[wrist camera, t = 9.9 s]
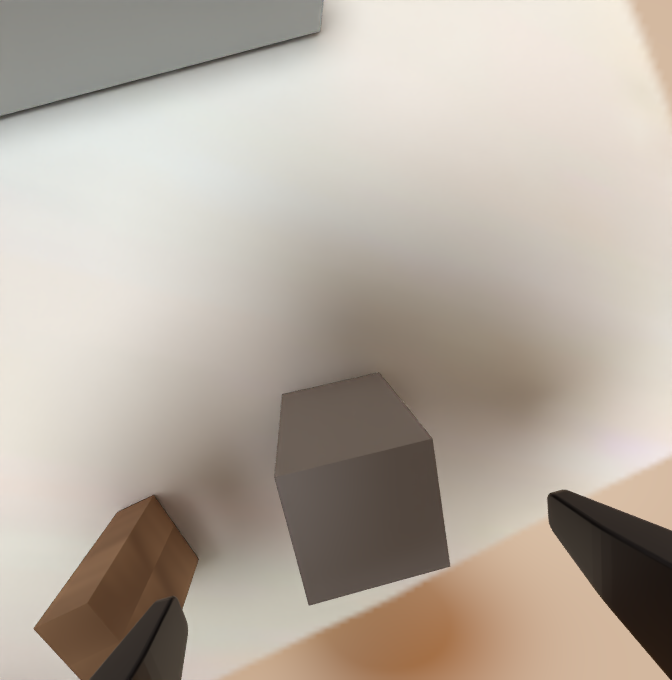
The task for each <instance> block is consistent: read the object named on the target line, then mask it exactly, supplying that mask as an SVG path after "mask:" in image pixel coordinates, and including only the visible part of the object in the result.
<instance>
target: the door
mask: <svg viewBox="0 0 672 680" xmlns="http://www.w3.org/2000/svg"><path fill="white" fill-rule="evenodd" d="M323 1H324V0H0V116H2V115H6V114H10V113H13V112H17V111H21V110H25V109H29V108H32V107H36V106H40V105H44V104H47V103H51V102H55V101H59V100H62V99H66V98H70V97H74V96H78V95H81V94H85V93H89V92H93V91H96V90H100V89H104V88H108V87H112V86H115V85H119V84H123V83H127V82H130V81H134V80H138V79H142V78H145V77H149V76H153V75H157V74H161V73H164V72H168V71H172V70H176V69H179V68H183V67H187V66H191V65H195V64H198V63H202V62H206V61H210V60H213V59H217V58H221V57H225V56H229V55H232V54H236V53H240V52H244V51H247V50H251V49H255V48H259V47H262V46H266V45H270V44H274V43H278V42H281V41H285V40H289V39H293V38H296V37H300V36H304V35H308V34H312V33H315V32H319V31H320V28H321V19H322V10H323Z"/></svg>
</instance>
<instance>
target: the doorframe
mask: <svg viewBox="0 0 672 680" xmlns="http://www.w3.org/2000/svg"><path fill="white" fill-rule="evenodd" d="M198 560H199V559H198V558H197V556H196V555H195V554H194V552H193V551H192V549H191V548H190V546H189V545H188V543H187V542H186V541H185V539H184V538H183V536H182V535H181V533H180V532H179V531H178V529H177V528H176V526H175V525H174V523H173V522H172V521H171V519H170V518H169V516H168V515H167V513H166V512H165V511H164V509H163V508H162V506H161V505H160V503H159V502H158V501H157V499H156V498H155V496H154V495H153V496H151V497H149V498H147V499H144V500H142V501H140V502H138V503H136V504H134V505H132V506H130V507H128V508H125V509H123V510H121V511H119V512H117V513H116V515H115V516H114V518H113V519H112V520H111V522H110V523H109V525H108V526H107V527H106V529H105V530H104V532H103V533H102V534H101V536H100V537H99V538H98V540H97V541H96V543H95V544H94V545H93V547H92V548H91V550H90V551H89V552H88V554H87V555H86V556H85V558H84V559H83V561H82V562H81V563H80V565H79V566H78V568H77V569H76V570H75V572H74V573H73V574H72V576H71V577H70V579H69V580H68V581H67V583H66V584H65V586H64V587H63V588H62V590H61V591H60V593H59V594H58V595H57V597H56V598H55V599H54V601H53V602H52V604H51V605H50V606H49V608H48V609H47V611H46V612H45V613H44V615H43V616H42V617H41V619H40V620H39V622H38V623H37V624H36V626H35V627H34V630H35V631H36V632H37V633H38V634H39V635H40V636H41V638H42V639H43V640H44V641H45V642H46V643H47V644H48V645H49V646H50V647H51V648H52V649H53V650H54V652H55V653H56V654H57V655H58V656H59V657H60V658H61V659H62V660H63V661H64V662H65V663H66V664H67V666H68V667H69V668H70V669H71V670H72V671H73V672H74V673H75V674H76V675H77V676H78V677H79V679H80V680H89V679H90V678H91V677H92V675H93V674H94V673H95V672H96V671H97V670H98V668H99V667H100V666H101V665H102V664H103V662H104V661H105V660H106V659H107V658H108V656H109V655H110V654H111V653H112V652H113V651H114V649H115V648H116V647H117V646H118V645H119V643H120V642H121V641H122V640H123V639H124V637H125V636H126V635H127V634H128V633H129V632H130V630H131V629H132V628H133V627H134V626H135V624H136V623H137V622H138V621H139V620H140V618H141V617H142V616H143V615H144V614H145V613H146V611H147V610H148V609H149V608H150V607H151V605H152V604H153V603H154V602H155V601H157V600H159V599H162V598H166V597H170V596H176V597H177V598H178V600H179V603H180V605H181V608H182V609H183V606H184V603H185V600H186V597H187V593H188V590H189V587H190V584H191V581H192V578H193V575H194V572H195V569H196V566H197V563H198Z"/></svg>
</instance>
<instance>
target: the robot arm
mask: <svg viewBox="0 0 672 680" xmlns="http://www.w3.org/2000/svg"><path fill="white" fill-rule="evenodd" d="M547 501H548V519H549V524H550V527H551V528H552V531H553V532H554V534H555V535H556V536H557V538H558V539H559V541H560V542H561V543H562V545H563V546H564V548H565V549H566V550H567V552H568V553H569V554H570V556H571V557H572V559H573V560H574V561H575V563H576V564H577V565H578V567H579V568H580V570H581V571H582V572H583V573H584V575H585V577H586V578H587V579H588V580H589V582H590V583H591V585H592V586H593V588H594V589H595V590H596V591H597V593H598V594H599V595H600V597H601V598H602V599H603V601H604V602H605V603H606V604H607V605H608V607H609V608H610V609H611V610H612V611H613V613H614V614H615V615H616V616H617V617H618V619H619V620H620V621H621V622H622V623H623V624H624V626H625V627H626V628H627V629H628V630H629V631H630V633H631V634H632V635H633V636H634V637H635V639H636V640H637V641H638V642H639V643H640V644H641V646H642V647H643V648H644V649H645V650H646V651H647V653H648V654H649V655H650V656H651V657H652V658H653V660H654V661H655V662H656V663H657V664H658V665H659V667H660V668H661V669H662V670H663V671H664V673H665V674H666V675H667V676H668V677H669V678H670V680H672V531H671V530H669V529H666V528H664V527H661V526H659V525H656V524H653V523H650V522H648V521H646V520H643V519H640V518H638V517H635V516H633V515H630V514H628V513H625V512H622V511H620V510H617V509H615V508H612V507H609V506H607V505H604V504H602V503H599V502H597V501H594V500H591V499H589V498H586V497H584V496H581V495H579V494H576V493H573V492H571V491H568V490H559V491H556V492H552V493H550V494H549V495H548V497H547ZM187 636H188V625H187V621H186V618H185V615H184V613H183V610H182V608H181V605H180V603H179V600H178V598H177V597H176V596H170V597H166V598H162V599H159V600H157V601H155V602H154V603H153V604H152V605H151V607H150V608H149V609H148V610H147V611H146V613H145V614H144V615H143V616H142V617H141V618H140V620H139V621H138V622H137V623H136V624H135V626H134V627H133V628H132V629H131V630H130V632H129V633H128V634H127V635H126V636H125V637H124V639H123V640H122V641H121V642H120V643H119V645H118V646H117V647H116V648H115V649H114V651H113V652H112V653H111V654H110V655H109V656H108V658H107V659H106V660H105V661H104V662H103V664H102V665H101V666H100V667H99V668H98V670H97V671H96V672H95V673H94V674H93V675H92V677H91V678H90V679H89V680H181V677H182V670H183V663H184V656H185V650H186V643H187Z"/></svg>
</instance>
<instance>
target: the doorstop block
mask: <svg viewBox="0 0 672 680" xmlns="http://www.w3.org/2000/svg"><path fill="white" fill-rule="evenodd" d="M275 481H276V485H277V489H278V492H279V496H280V500H281V504H282V507H283V511H284V515H285V518H286V522H287V526H288V530H289V533H290V537H291V541H292V545H293V548H294V552H295V556H296V559H297V563H298V567H299V571H300V574H301V578H302V582H303V586H304V589H305V593H306V597H307V600H308V604H309V605H313V604H316V603H320V602H324V601H327V600H331V599H334V598H338V597H342V596H345V595H349V594H352V593H356V592H360V591H363V590H367V589H371V588H374V587H378V586H381V585H385V584H389V583H392V582H396V581H399V580H403V579H407V578H410V577H414V576H418V575H421V574H425V573H428V572H432V571H436V570H439V569H443V568H446V567H450V562H449V555H448V547H447V540H446V533H445V526H444V519H443V511H442V504H441V497H440V490H439V483H438V475H437V468H436V461H435V454H434V447H433V439H432V437H431V436H430V435H429V434H428V433H427V431H426V430H425V429H424V428H423V426H422V425H421V424H420V423H419V421H418V420H417V419H416V418H415V416H414V415H413V414H412V413H411V412H410V410H409V409H408V408H407V407H406V405H405V404H404V403H403V402H402V400H401V399H400V398H399V397H398V395H397V394H396V393H395V392H394V391H393V389H392V388H391V387H390V386H389V384H388V383H387V382H386V381H385V379H384V378H383V377H382V376H381V374H380V373H374V374H370V375H366V376H361V377H357V378H352V379H348V380H344V381H339V382H335V383H330V384H326V385H321V386H317V387H313V388H308V389H304V390H299V391H295V392H291V393H286V394H282V403H281V414H280V424H279V435H278V445H277V456H276V466H275Z"/></svg>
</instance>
